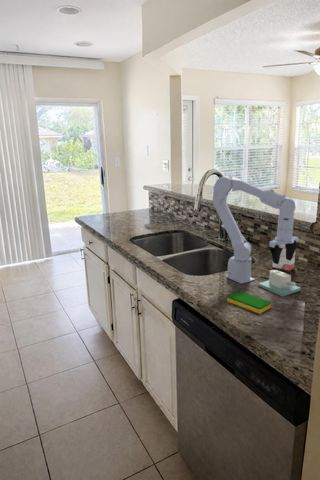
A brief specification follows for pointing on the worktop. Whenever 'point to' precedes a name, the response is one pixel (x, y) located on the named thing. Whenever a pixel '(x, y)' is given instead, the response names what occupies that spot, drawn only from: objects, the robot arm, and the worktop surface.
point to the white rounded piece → (280, 280)
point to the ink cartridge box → (285, 260)
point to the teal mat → (278, 289)
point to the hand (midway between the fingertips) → (282, 261)
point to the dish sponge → (249, 302)
